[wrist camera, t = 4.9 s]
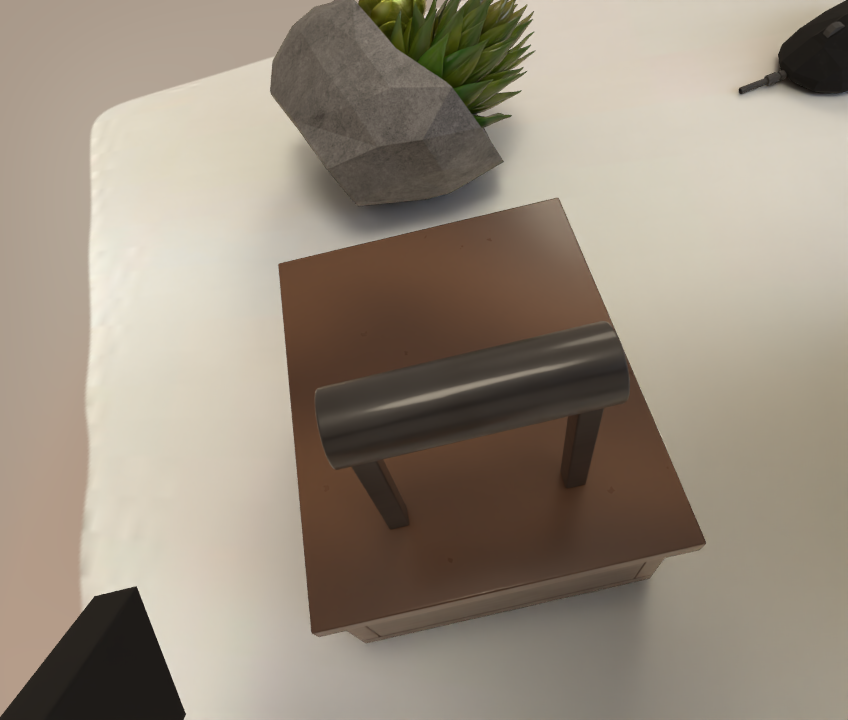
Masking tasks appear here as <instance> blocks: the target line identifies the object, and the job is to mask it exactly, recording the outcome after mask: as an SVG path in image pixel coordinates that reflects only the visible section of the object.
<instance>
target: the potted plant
mask: <svg viewBox="0 0 848 720" xmlns="http://www.w3.org/2000/svg"><path fill="white" fill-rule="evenodd" d="M436 1H437V0H433V2H432V5H431V8H430V10H429V12H428V14H427V16H426V18H425V19H424V15H425V12H426V0H359V3H357V2H356V1H355V0H334V1H333V2H331V3H327V4H324V5H320V6H316V7H314V8H313V9H311V10H310V11H309V12H308V13H307V14H306V15H305V16H303V17H302V18H301V19H300V20H299V21H297V22H296V23H295V24H294V25H293V26H292V27H291V29H290V31H289V33H288V34H287V36H286V38H285V40H284V42H283V43H282V45H281V47H280V49H279V51H278V52H277V54H276V56H275V58H274V60H273V63H272V75H271V87H270V92H271V95H272V96H273V98H274V99H275V100H276V102H277V103H278V104H279V105H280V107H281V108H282V109H283V111H284V112H285V113H286V114H287V116H288V117H289V118H290V120H291V121H292V122H293V123H294V125H295V126H296V127H297V129H298V130H299V131H300V133H301V134H302V135H303V137H304V138H305V140H306V141H307V142H308V144H309V145H310V147H311V148H312V149H313V151H314V152H315V153H316V155H317V156H318V158H319V159H320V160H321V162H322V163H323V165H324V166H325V167H326V169H327V170H328V171H329V172H330V174H331V175H332V176H333V177H334V179H335V180H336V181H337V182H338V183H339V185H340V186H341V187H342V188H343V190H344V191H345V192H346V193H347V194H348V196H349V197H350V198H351V199H352V201H353V202H354V203H355V204H356V205H357V206H365V205H375V204H384V203H394V202H404V201H414V200H424V199H429V198H433V197H437V196H441V195H445V194H448V193H451V192H453V191H455V190H457V189H458V188H460V187H462V186H463V185H465V184H467V183H468V182H470V181H472V180H474V179H475V178H477V177H479V176H480V175H482V174H484V173H485V172H487V171H489V170H490V169H492V168H494V167H496V166H497V165H499V164H501V163H502V162H503V160H502V158H501V157H500V155H499V154H498V152H497V150H496V149H495V147H494V146H493V144H492V142H491V141H490V139H489V137H488V135H487V133H486V131H485V129H484V128H485V127H487V126H489V125H491V124H493V123H495V122H498V121H500V120H503V119H506V118H508V117H511V116H512V115H504V114H501V113H497V114H493V115H490V116H487V117H483V116H478V115H477V113H481V112H484V111H486V110H489V109H491V108H493V107H495V106H496V105H498V104H500V103H502V102H503V101H505V100H507V99H509V98H511V97H513V96H514V95H516V94H518V93H520V92H521V91H522V90H521V91H517V92H505V93H498V92H500V91H501V90H502V89H503V88H505V87H506V86H507V85H508V84H510V83H512V82H513V81H515V80H517V79H518V78H519V77H521V76H522V75H524V74H525V73H526V72H527V71H526V72H524V73H521V74H520V73H519V72H520V71H521V70H522V69H523V68H524V67H522V68H520V69H516V70H511V69H513V68H515V67H516V66H517V65H519V64H520V63H521V62H522V61H524V60H525V59H526V58H527V57H528V56H530V55H531V54H532V53H534V52H535V51H533V52H531V53H529V54H527V55H525V56H524V57H522V58H519V57H520V56H521V55H522V54H523V53H524V52H525V51H526V50H527V49H528V48H529V47H530V46H531V45H529V46H527V47H524V48H521V47H522V46H523V44H524V43H525V42H526V41H527V39H528V38H529V37H530V36H531V35H532V34H533V33H534V32H532V33H530V34H529V35H527V36H526V37H525V38H524V39H523V40H522V41H521V42H520V43H519V44H518V45H517V46H515V47H514V48H512V49H510V48H511V47H512V46H513V45H514V44H515V43H516V42H517V40H518V39H519V38H520V36H521V35H522V33H523V32H524V31H525V29H526V28H527V27H528V25H529V24H530V23H531V21H532V20H533V19H532V20H530V21H529V19H530V18H531V16H532V15H533V13H534V11H533V12H532V13H531V14H530V15H529V16H528V17H526V18H525V19H524V20H522V21H521V22H519V23H518V21H519V20H520V18H521V16H522V14H523V12H524V11H525V9H526V7H527V5H526V6H524V7H523V8H522V9H520V10H518V11H516V12H515V13H513V11H514V9H515V8H516V6H517V5H518V4H515V5H514V3H515V1H516V0H511V1H509V2H508V0H500V1H498V2H496V3H494V4H492V5H490V4H491V3H492V2H493V0H468V1H467V2H466V3H465V4H464V5H463V6H462V7H461V8H460V9H459V10H458V11H457V8H458V6H459V3H460V1H461V0H450V1H449V2H448V4H447V1H448V0H446V1H445V2H444V3H443V5H442V6H441V8H440V9H439V10H438V12H437V13H436V11H437V9H436V10H435V8H436ZM446 4H447V5H446ZM435 14H436V15H435ZM517 23H518V24H517ZM509 49H510V50H509ZM508 50H509V51H508ZM518 58H519V59H518ZM518 73H519V74H518Z"/></svg>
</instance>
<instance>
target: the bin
mask: <svg viewBox="0 0 848 720" xmlns="http://www.w3.org/2000/svg"><path fill="white" fill-rule="evenodd" d="M664 559H665V558H662V559H658V560H654V561H649V562H645V563H641V564H636V565H632V566H627V567H623V568H619V569H614V570H610V571H606V572H601V573H597V574H592V575H588V576H584V577H579V578H575V579H571V580H566V581H562V582H558V583H553V584H549V585H544V586H540V587H536V588H531V589H527V590H523V591H518V592H514V593H509V594H505V595H501V596H496V597H492V598H488V599H483V600H479V601H475V602H470V603H466V604H461V605H457V606H453V607H448V608H444V609H440V610H435V611H431V612H427V613H422V614H418V615H413V616H409V617H405V618H400V619H396V620H392V621H387V622H383V623H378V624H374V625H370V626H365V627H361V628H357V629H352V630H348V632H349V633H351V634H352V635H354V636H355V637H357V638H359V639H360V640H362V641H363V642H364V643H370V642H374V641H379V640H383V639H387V638H392V637H396V636H400V635H405V634H409V633H414V632H418V631H422V630H427V629H431V628H435V627H440V626H444V625H449V624H453V623H457V622H462V621H466V620H470V619H475V618H479V617H484V616H488V615H492V614H497V613H501V612H505V611H510V610H514V609H518V608H523V607H527V606H532V605H536V604H540V603H545V602H549V601H553V600H558V599H562V598H567V597H571V596H575V595H580V594H584V593H588V592H593V591H597V590H602V589H606V588H610V587H615V586H619V585H623V584H628V583H632V582H637V581H641V580H645V579H649V578H650V577H651V576H652V575H653V573H654V572H655V571H656V569H657V568H658V567H659V565H660V564H661V563H662V561H663V560H664Z"/></svg>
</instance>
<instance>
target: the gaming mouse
mask: <svg viewBox="0 0 848 720" xmlns="http://www.w3.org/2000/svg"><path fill="white" fill-rule="evenodd" d="M778 57H779V64H780V70H781V71H778V72H777V73H776V72H775V73H772V74H769V75H767V76H765V77H764V79H762V80H759V81H756V82H754V83H751V84H748V85H746V86H743V87H740V88H739V93H740V94H742V93H745V92H747V91H750V90H753V89H755V88H758V87H761V86H763V85H767V86H769V85H772V84H774V83H777V82H778V81H781V80H784V79H785V78H786V77H788V78H789V79H790V80H791V81H792V82H794V83H797V84H799V85H801V86H803V87H806V88H808V89H810V90H812V91H815V92H828V93H840V92H845V91H848V0H846V1H844V2H842V3H840V4H838V5H837V6H835V7H833V8H831V9H829V10H827V11H825V12H824V13H822V14H821V15H819V16H818V17H816V18H815V19H813V20H812V21H810V22H809V23H807V24H806V25H804V26H803V27H801V28H800V29H799V30H798V31H797V32H795V33H794V34H793V35H792V36H791V37H790V38H789V39H788V40H787V41H786V42H784V43H783V44H782V46H781V48H780V51H779V54H778Z"/></svg>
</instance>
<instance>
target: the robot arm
mask: <svg viewBox="0 0 848 720" xmlns="http://www.w3.org/2000/svg"><path fill="white" fill-rule="evenodd" d="M185 715H186V713H185V711H184V708H183V706H182V703H181V700H180V698H179V695H178V693H177V690H176V687H175V685H174V682H173V680H172V677H171V675H170V672H169V669H168V667H167V664H166V662H165V659H164V656H163V654H162V651H161V649H160V646H159V643H158V641H157V638H156V636H155V633H154V630H153V628H152V625H151V623H150V620H149V617H148V615H147V612H146V610H145V607H144V604H143V602H142V599H141V597H140V594H139V591H138V589H137V586H136V587H132V588H127V589H123V590H119V591H115V592H111V593H107V594H102V595H98V596H94V598H93V599H92V600H91V602H90V603H89V604H88V605H87V607H86V608H85V609H84V611H83V612H82V613H81V614H80V616H79V617H78V618H77V620H76V621H75V622H74V623H73V625H72V626H71V627H70V629H69V630H68V631H67V632H66V634H65V635H64V636H63V637H62V639H61V640H60V641H59V643H58V644H57V645H56V646H55V648H54V649H53V650H52V652H51V653H50V654H49V655H48V657H47V658H46V659H45V661H44V662H43V663H42V664H41V666H40V667H39V668H38V670H37V671H36V672H35V673H34V675H33V676H32V677H31V678H30V680H29V681H28V682H27V684H26V685H25V686H24V687H23V689H22V690H21V691H20V693H19V694H18V695H17V697H16V698H15V699H14V700H13V702H12V703H11V704H10V705H9V707H8V708H7V709H6V710H5V712H4V713H3V714H2V716H1V717H0V720H184V717H185Z"/></svg>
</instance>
